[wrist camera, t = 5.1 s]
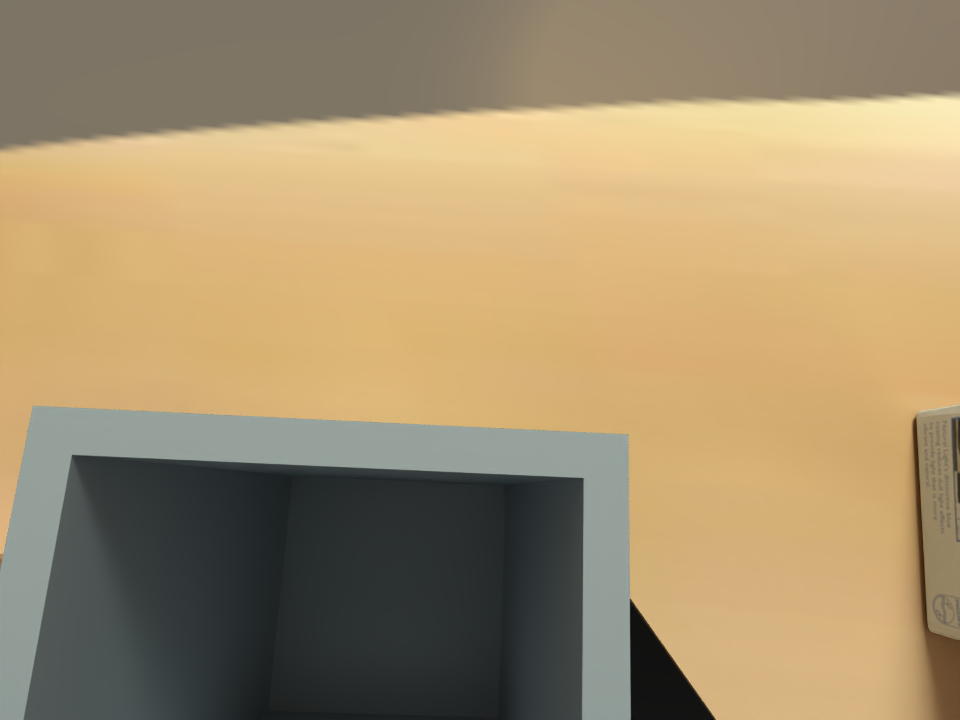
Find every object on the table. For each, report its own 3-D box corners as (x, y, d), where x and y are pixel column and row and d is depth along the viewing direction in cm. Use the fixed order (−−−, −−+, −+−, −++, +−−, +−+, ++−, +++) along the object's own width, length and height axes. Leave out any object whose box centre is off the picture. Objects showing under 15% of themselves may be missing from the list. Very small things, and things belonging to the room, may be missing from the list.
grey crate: (515, 731, 15) (634, 1162, 5) (251, 724, 15) (-119, 1162, 5) (522, 467, 17) (628, 434, 7) (281, 456, 16) (32, 405, 7)
